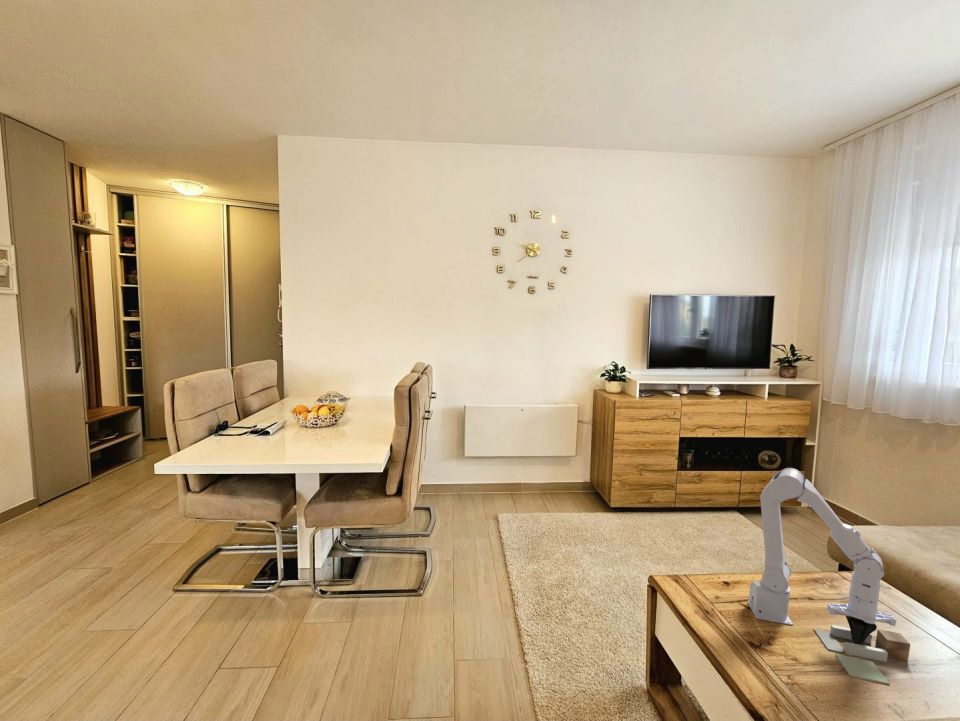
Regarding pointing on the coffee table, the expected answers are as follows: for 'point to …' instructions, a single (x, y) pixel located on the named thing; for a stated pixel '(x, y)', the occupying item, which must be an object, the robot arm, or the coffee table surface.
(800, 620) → the coffee table surface
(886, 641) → the block
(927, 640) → the coffee table surface
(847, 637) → the channel
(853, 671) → the pad
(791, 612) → the coffee table surface
